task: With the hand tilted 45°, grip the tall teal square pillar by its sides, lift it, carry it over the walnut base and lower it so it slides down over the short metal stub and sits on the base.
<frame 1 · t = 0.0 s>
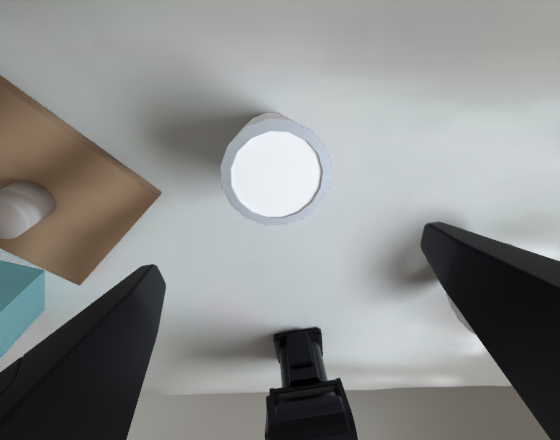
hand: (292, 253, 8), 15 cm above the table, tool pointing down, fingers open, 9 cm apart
white short cylinder: (271, 147, 21), on the table
teal square pillar: (9, 284, 26), on the table
stub base: (42, 193, 21), on the table
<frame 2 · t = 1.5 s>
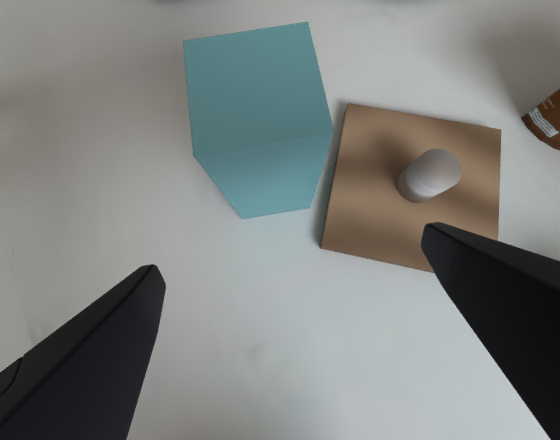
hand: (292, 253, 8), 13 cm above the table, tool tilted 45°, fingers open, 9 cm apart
teal square pillar: (270, 181, 23), on the table
stub base: (409, 189, 23), on the table
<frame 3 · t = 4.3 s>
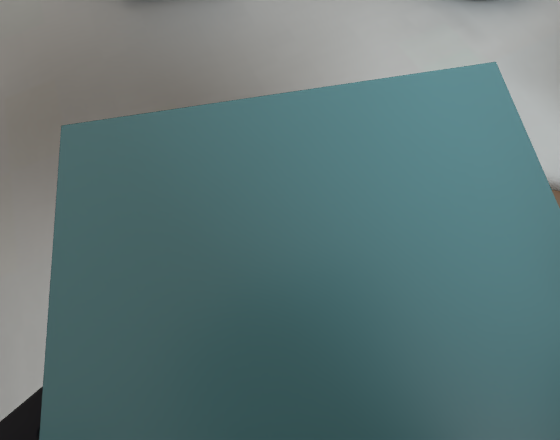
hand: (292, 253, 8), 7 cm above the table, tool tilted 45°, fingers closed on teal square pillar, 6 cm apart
teal square pillar: (293, 289, 14), on the table, touching gripper
when the fingers open (9 cm above the table, at t = 8.5 s): teal square pillar drops 1 cm, resting on stub base.
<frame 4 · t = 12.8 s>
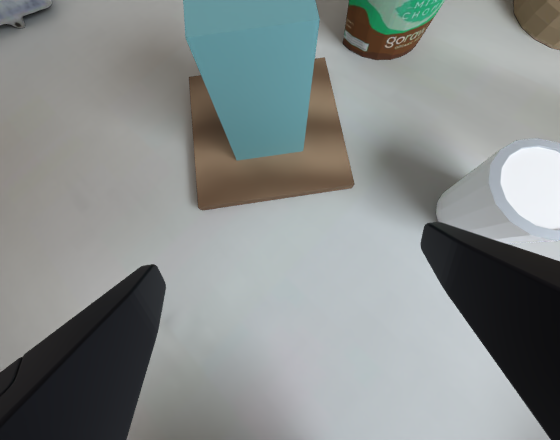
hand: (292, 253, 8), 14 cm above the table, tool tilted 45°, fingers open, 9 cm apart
grey storage box: (16, 9, 30), on the table
white short cylinder: (466, 215, 23), on the table
teal square pillar: (265, 126, 24), point 1 cm above the table, touching stub base
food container: (393, 44, 27), on the table
stub base: (266, 132, 25), on the table
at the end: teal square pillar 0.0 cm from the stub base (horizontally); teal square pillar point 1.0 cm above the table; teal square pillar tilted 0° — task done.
